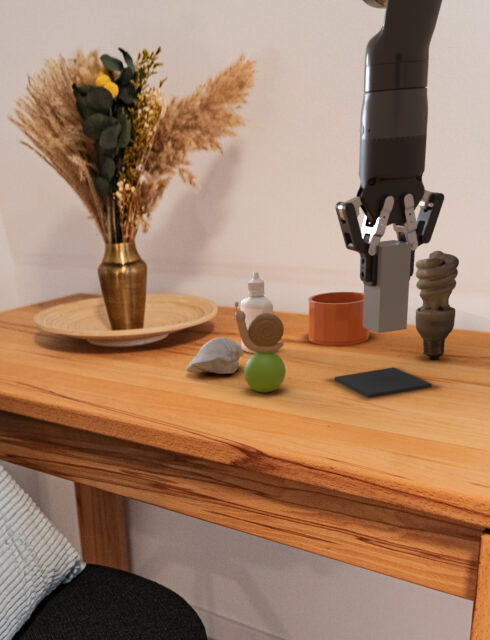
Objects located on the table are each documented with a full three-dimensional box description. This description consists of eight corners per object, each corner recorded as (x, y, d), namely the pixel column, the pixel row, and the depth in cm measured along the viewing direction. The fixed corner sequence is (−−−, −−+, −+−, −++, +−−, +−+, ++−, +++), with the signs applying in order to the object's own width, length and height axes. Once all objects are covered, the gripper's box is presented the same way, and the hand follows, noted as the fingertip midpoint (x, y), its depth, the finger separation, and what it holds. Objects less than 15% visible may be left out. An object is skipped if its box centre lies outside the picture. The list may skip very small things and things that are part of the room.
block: (389, 323, 110) (393, 239, 105) (406, 329, 106) (411, 243, 102) (362, 327, 109) (365, 243, 104) (378, 333, 105) (382, 246, 101)
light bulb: (422, 366, 117) (429, 255, 110) (403, 357, 121) (408, 250, 115) (459, 361, 118) (468, 250, 111) (438, 352, 122) (446, 246, 116)
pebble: (242, 380, 117) (241, 344, 115) (184, 382, 118) (182, 347, 116) (244, 363, 125) (243, 330, 123) (190, 365, 126) (188, 332, 124)
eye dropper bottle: (247, 356, 128) (245, 276, 123) (239, 348, 133) (237, 270, 128) (275, 353, 129) (274, 273, 124) (266, 345, 134) (265, 268, 129)
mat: (393, 371, 116) (393, 367, 115) (431, 388, 108) (431, 383, 107) (334, 381, 114) (334, 376, 113) (368, 398, 106) (368, 394, 105)
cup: (350, 329, 139) (351, 289, 137) (380, 340, 131) (381, 298, 128) (298, 336, 137) (298, 296, 135) (325, 349, 129) (326, 306, 126)
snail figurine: (237, 387, 114) (234, 298, 109) (284, 385, 114) (284, 295, 109) (236, 399, 110) (233, 306, 105) (286, 397, 109) (285, 303, 104)
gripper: (354, 138, 93) (350, 295, 100) (466, 128, 96) (454, 280, 103) (322, 138, 100) (321, 285, 107) (428, 129, 103) (419, 272, 110)
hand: (386, 282), depth 105 cm, fingers closed on block, 4 cm apart
